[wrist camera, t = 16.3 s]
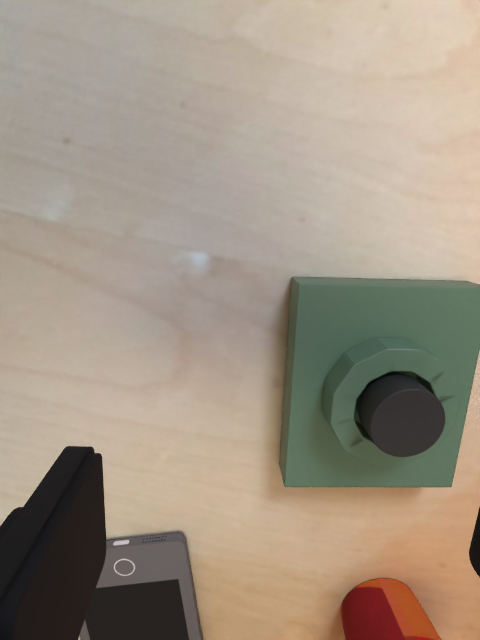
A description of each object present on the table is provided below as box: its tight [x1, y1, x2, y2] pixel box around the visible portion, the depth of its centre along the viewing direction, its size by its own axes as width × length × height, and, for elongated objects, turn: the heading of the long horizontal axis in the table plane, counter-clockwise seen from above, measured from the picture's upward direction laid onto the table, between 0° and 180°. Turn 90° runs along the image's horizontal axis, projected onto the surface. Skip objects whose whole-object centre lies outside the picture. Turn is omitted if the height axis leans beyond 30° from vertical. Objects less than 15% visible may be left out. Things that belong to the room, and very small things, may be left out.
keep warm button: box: [358, 375, 445, 457], centre depth 19 cm, size 4×4×2 cm
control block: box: [279, 277, 480, 487], centre depth 21 cm, size 12×10×4 cm
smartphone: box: [80, 533, 203, 640], centre depth 27 cm, size 15×8×1 cm, turn 6°
